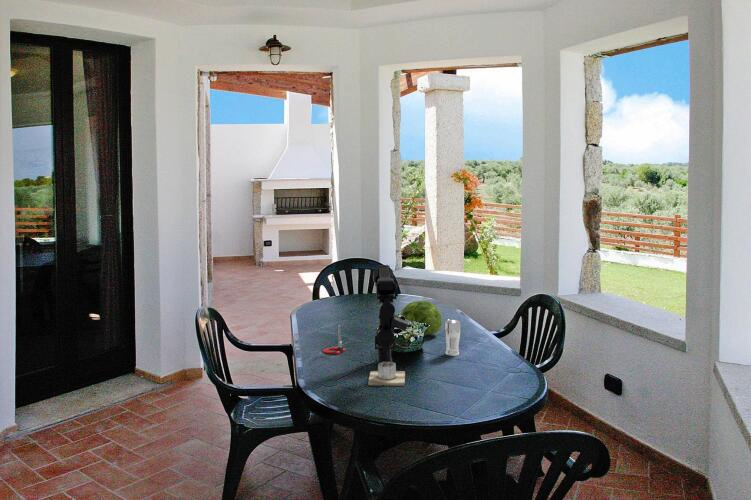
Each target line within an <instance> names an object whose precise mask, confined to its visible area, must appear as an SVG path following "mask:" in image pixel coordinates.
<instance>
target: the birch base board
mask: <svg viewBox="0 0 751 500" xmlns="http://www.w3.org/2000/svg"><path fill="white" fill-rule="evenodd" d="M405 378H406V371H404V370H402V371H401V370H400V371H399V370H396V378H394V379H391V380H383V379H380V378H378V370H370V372H369V377H368V383H367V385H368V386H383V385H384V387H385V386H386V387H387V386H393V387H395V386H399V387H401V386H405V382H406V381H405V380H406V379H405Z"/></svg>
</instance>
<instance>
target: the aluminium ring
mask: <svg viewBox="0 0 751 500" xmlns="http://www.w3.org/2000/svg"><path fill="white" fill-rule="evenodd" d="M384 365H390V366H384ZM396 367H397V366H396V362H393V361H392V362H381V363H379V364H377V371H378V378H380V379H383V380H391V379H394V378H396V371H397V368H396Z"/></svg>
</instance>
